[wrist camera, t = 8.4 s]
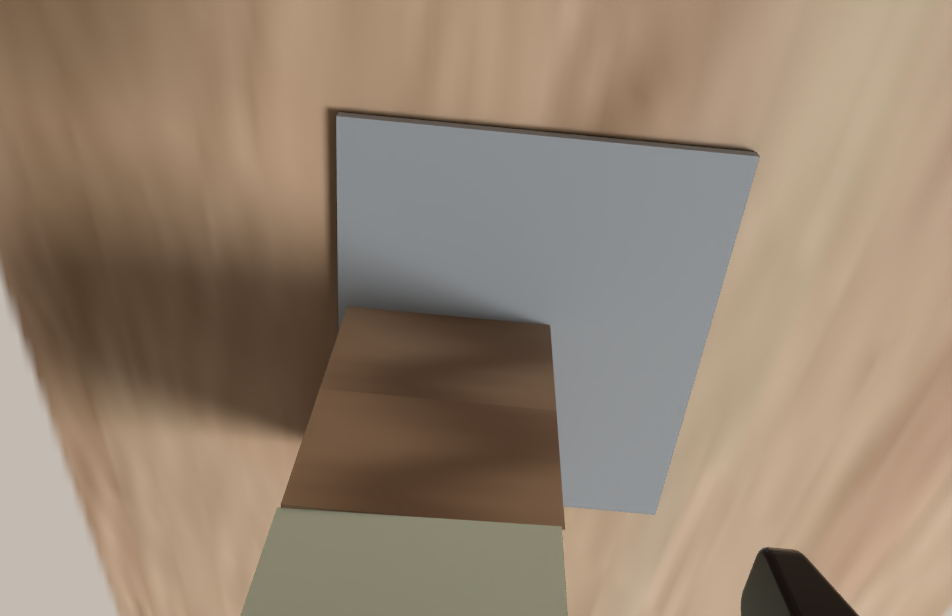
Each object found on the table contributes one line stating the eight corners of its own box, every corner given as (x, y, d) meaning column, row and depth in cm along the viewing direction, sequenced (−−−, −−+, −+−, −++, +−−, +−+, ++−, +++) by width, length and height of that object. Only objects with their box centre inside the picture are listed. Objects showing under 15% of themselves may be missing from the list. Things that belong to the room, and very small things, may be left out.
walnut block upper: (556, 410, 18) (565, 530, 15) (528, 568, 21) (530, 695, 18) (319, 388, 18) (281, 503, 15) (323, 550, 21) (292, 674, 18)
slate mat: (756, 151, 19) (759, 156, 19) (653, 507, 25) (655, 514, 25) (338, 112, 19) (335, 116, 18) (341, 479, 25) (339, 486, 25)
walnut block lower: (550, 325, 21) (556, 410, 18) (526, 473, 24) (528, 568, 21) (347, 306, 21) (319, 388, 18) (347, 457, 24) (323, 550, 21)
